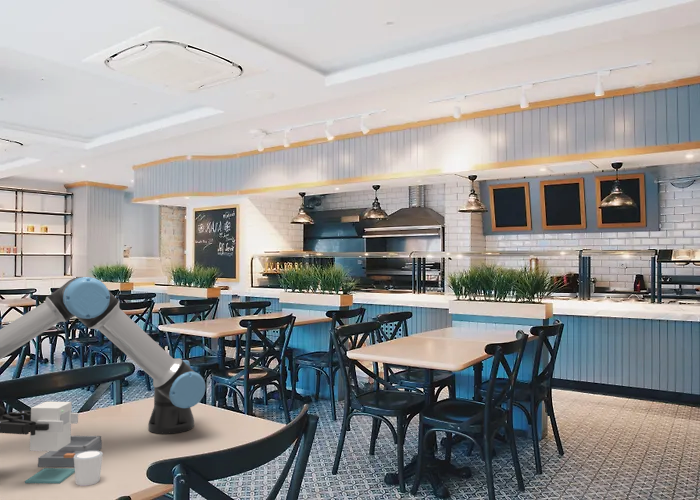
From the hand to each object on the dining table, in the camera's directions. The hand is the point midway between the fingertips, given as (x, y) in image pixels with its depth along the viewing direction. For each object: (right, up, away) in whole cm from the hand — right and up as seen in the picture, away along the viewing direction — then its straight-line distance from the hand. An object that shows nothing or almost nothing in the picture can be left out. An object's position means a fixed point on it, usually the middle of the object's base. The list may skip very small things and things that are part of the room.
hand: (70, 422), depth 147 cm
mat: (-5, -14, 0) cm, 15 cm away
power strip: (-7, -15, +19) cm, 25 cm away
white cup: (+6, -15, -3) cm, 16 cm away
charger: (-5, -6, 0) cm, 8 cm away
